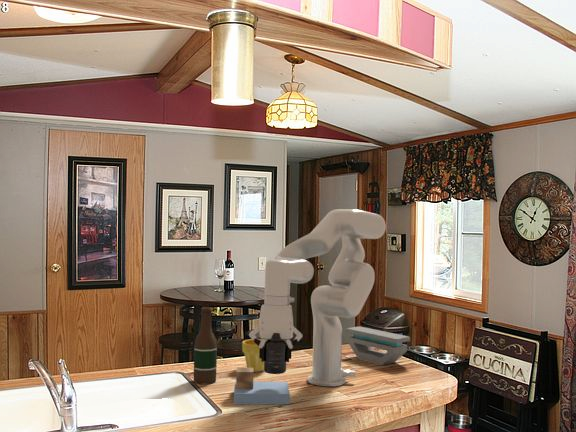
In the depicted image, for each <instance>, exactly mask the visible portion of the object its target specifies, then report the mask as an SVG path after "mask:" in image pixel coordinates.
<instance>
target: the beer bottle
mask: <svg viewBox="0 0 576 432" xmlns="http://www.w3.org/2000/svg"><path fill="white" fill-rule="evenodd" d="M200 311H201V319H200V329H199V332H198V334H197V335H196V338H195V340H194V347H193V348H194V349H193V382H194V383H195V384H197V385H211V384H214V383H216V381H217V362H218V360H217V359H218V358H217V356H218V344H217V339H216V336H215V334H214V333H213V327H212V312H213V309H212V307H211V306H203V307H201V310H200Z"/></svg>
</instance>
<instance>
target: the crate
mask: <svg viewBox="0 0 576 432" xmlns="http://www.w3.org/2000/svg"><path fill="white" fill-rule="evenodd" d="M254 372H255V371H253V368H247V367H236V376H235V378H236V379H235V380H236V381H235V382H236V389H253V382H254V375H255V374H254Z"/></svg>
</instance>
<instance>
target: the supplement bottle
mask: <svg viewBox="0 0 576 432" xmlns="http://www.w3.org/2000/svg"><path fill="white" fill-rule="evenodd" d="M286 360H287V342H286V340H281V337H280V333H273V335H272V337H271V340H266V342H265V344H264V371H263V372H264V373H266V374H270V375H281V374H285V373H286V371H287V363H288V362H287V361H286Z"/></svg>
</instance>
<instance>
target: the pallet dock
mask: <svg viewBox="0 0 576 432" xmlns="http://www.w3.org/2000/svg"><path fill="white" fill-rule="evenodd" d="M290 395H291V393H290V389H289V385H288V381H253V389H236V381H234V390H233V405H290V401H291V400H290V399H291V397H290Z"/></svg>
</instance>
